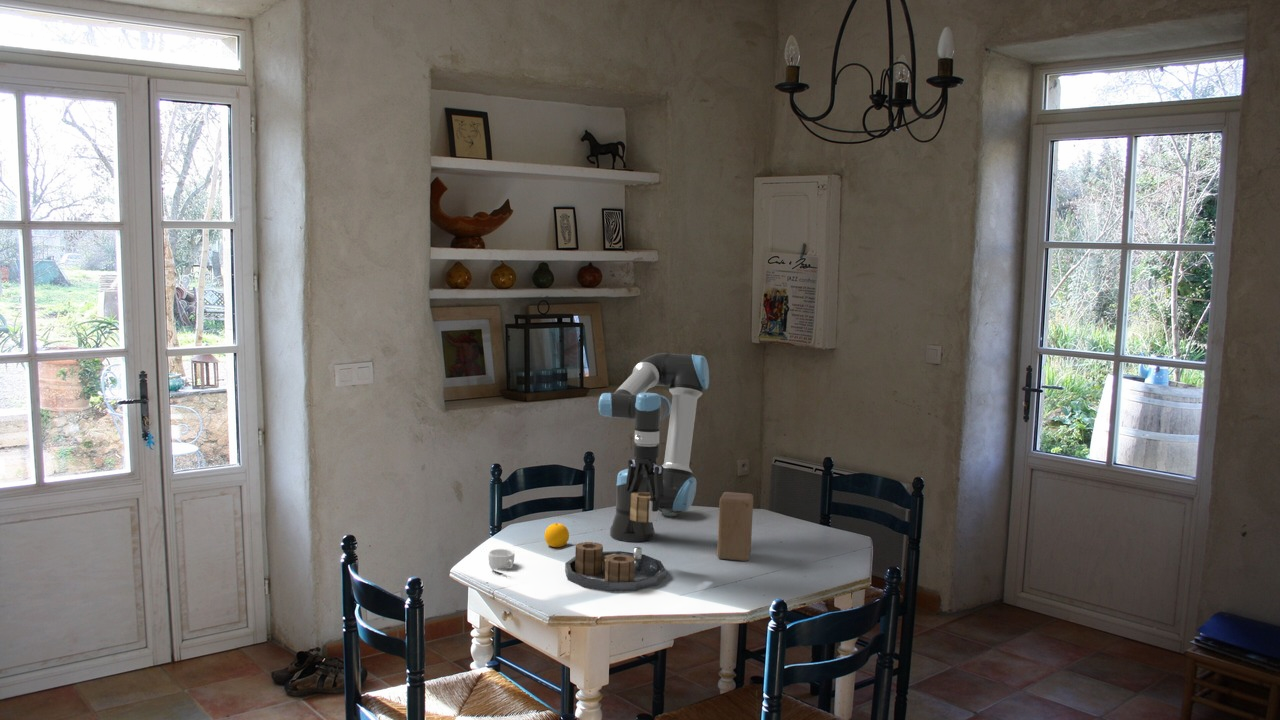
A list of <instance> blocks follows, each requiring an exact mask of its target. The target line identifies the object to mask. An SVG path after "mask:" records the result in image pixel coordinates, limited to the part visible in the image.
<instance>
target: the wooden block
mask: <svg viewBox="0 0 1280 720" xmlns="http://www.w3.org/2000/svg"><path fill="white" fill-rule="evenodd" d="M718 507H719V508H718V527H717V529H718V530H717V532H718V533H717V549H716V551H717V553H716V555H717V556H716V557H717V558H718V559H721V560H728V559H729V560H728V561H738V562H739V561H741V562H747V561H748V560H749V558H750V556H751V551H752V534H753V532H752V531H753V530H752V529H753V515H754V513H753V511H754V495H753V494H752V493H744V492H734V491H733V492H732V491H724V492H722V495H721V496H720V498H719V506H718Z"/></svg>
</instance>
